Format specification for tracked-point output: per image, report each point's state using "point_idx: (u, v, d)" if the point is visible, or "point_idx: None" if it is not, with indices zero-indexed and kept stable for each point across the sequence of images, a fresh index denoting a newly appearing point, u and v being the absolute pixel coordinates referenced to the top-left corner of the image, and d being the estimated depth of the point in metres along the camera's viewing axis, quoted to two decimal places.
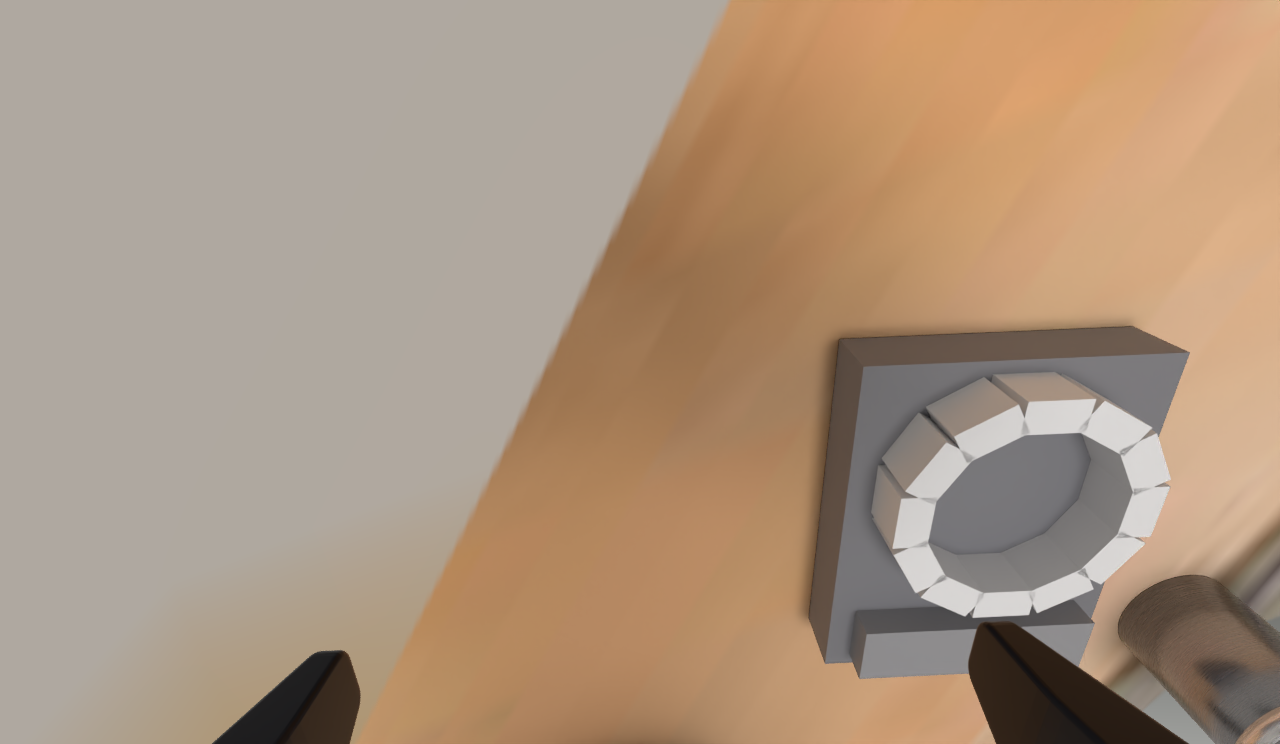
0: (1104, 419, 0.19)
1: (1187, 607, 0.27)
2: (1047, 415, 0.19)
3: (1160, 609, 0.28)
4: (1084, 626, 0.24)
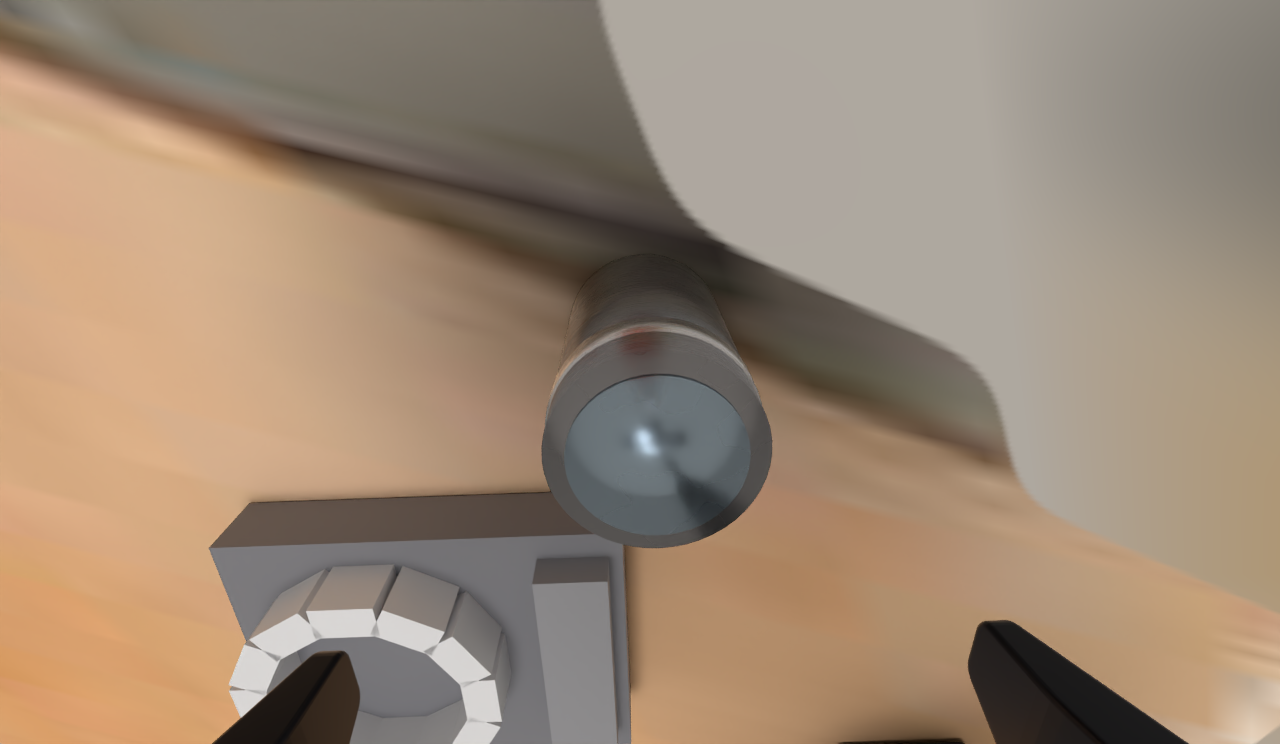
0: (247, 680, 0.21)
1: None
2: None
3: None
4: (538, 590, 0.20)
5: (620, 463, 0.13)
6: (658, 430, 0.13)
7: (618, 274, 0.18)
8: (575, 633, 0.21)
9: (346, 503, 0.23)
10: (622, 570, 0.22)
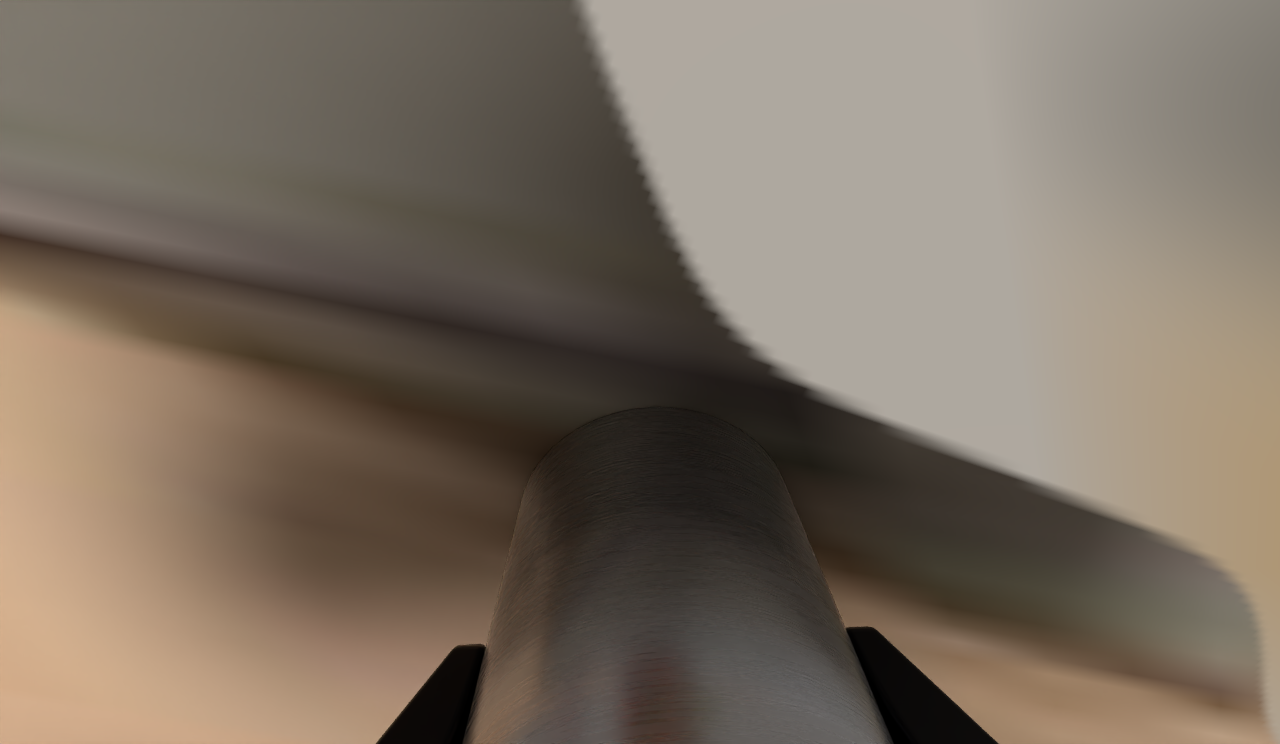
0: None
1: None
2: None
3: None
4: None
5: None
6: None
7: (603, 477, 0.09)
8: None
9: None
10: None
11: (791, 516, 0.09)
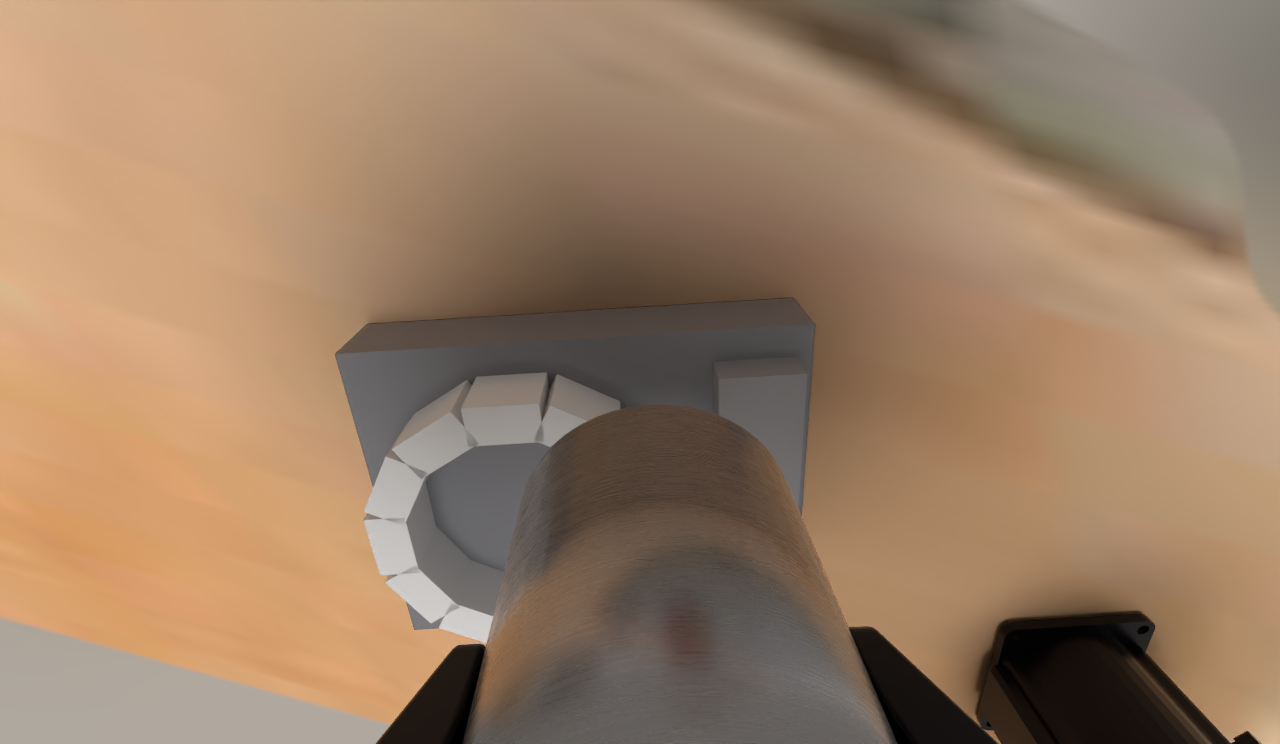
0: (385, 505, 0.18)
1: None
2: (391, 556, 0.18)
3: None
4: (725, 388, 0.17)
5: None
6: None
7: (604, 474, 0.09)
8: None
9: (479, 319, 0.20)
10: (810, 375, 0.19)
11: (792, 513, 0.09)
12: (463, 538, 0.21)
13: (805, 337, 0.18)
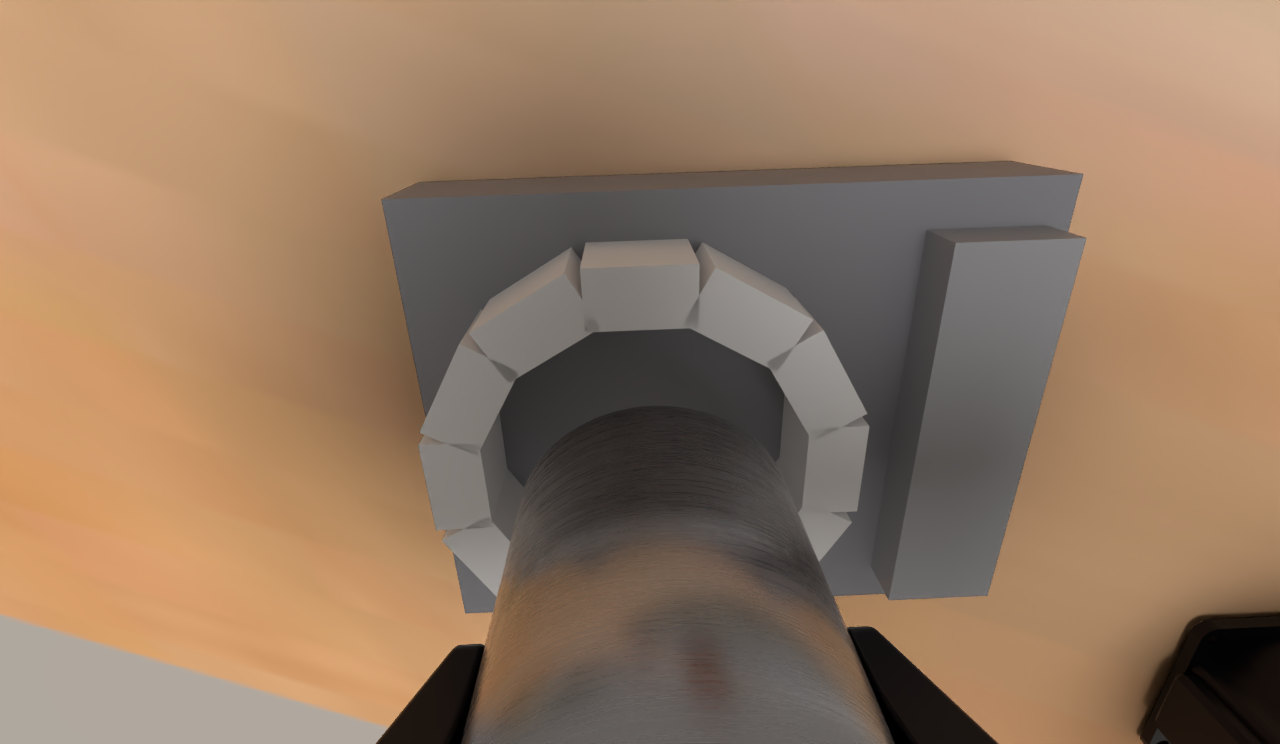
0: (452, 423, 0.12)
1: None
2: (455, 502, 0.13)
3: None
4: (961, 259, 0.12)
5: None
6: None
7: (603, 475, 0.09)
8: (996, 352, 0.13)
9: (577, 177, 0.14)
10: None
11: (791, 514, 0.09)
12: None
13: (1064, 195, 0.12)
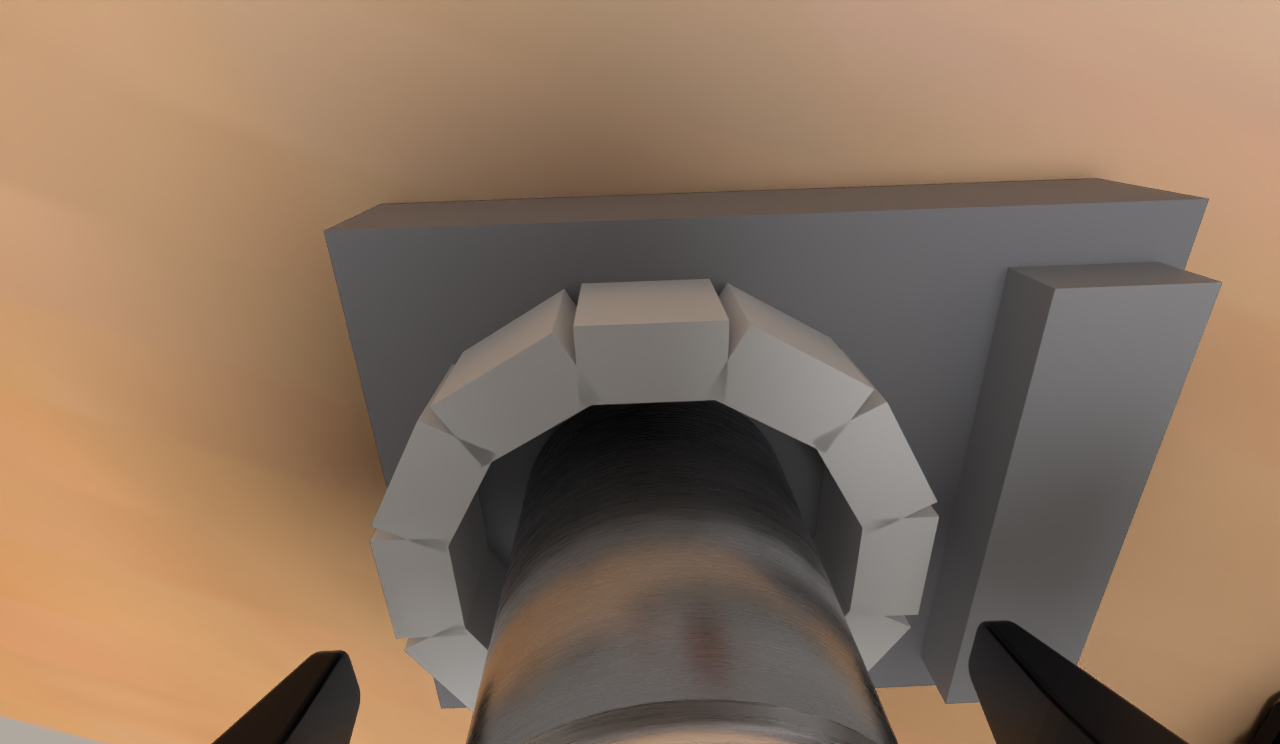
0: (412, 515, 0.09)
1: None
2: (418, 606, 0.10)
3: None
4: (1060, 308, 0.09)
5: None
6: None
7: (607, 452, 0.09)
8: (1097, 422, 0.10)
9: (572, 199, 0.12)
10: None
11: (784, 490, 0.10)
12: None
13: (1183, 225, 0.10)
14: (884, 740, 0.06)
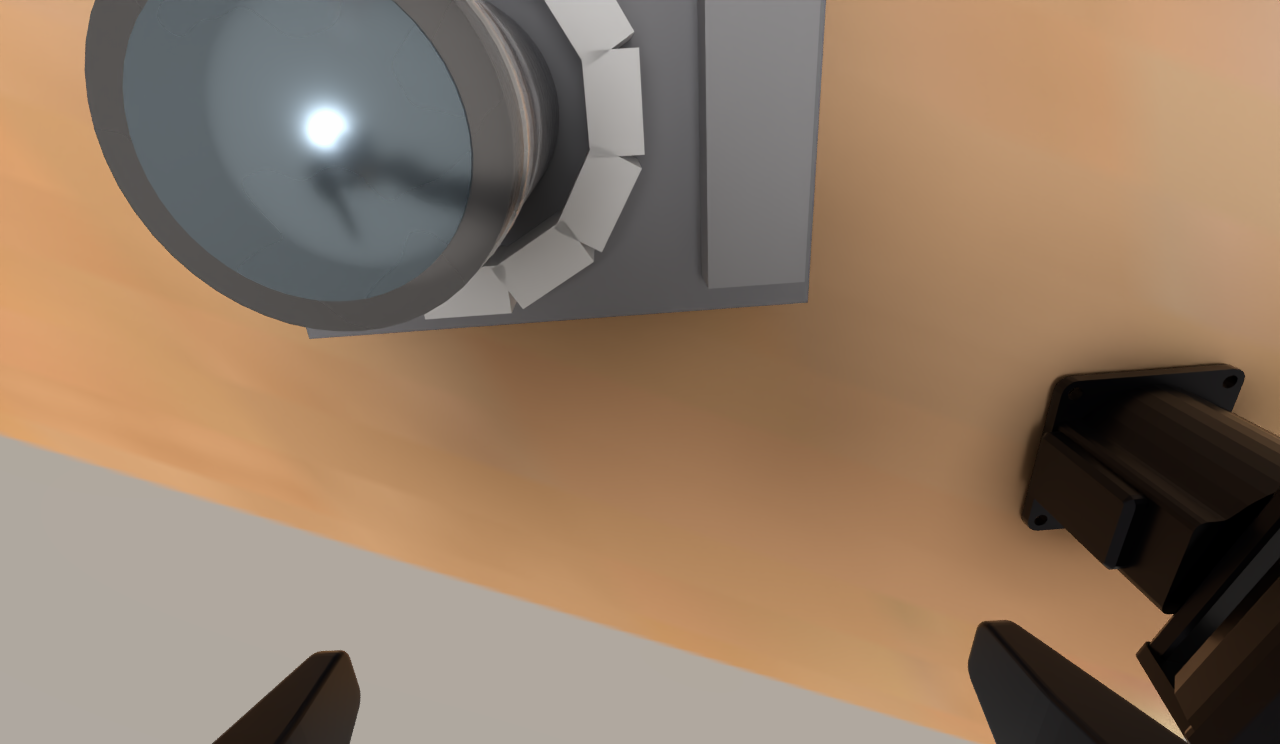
0: None
1: None
2: None
3: None
4: None
5: (238, 152, 0.07)
6: (285, 75, 0.07)
7: None
8: None
9: None
10: None
11: (515, 26, 0.12)
12: None
13: None
14: None
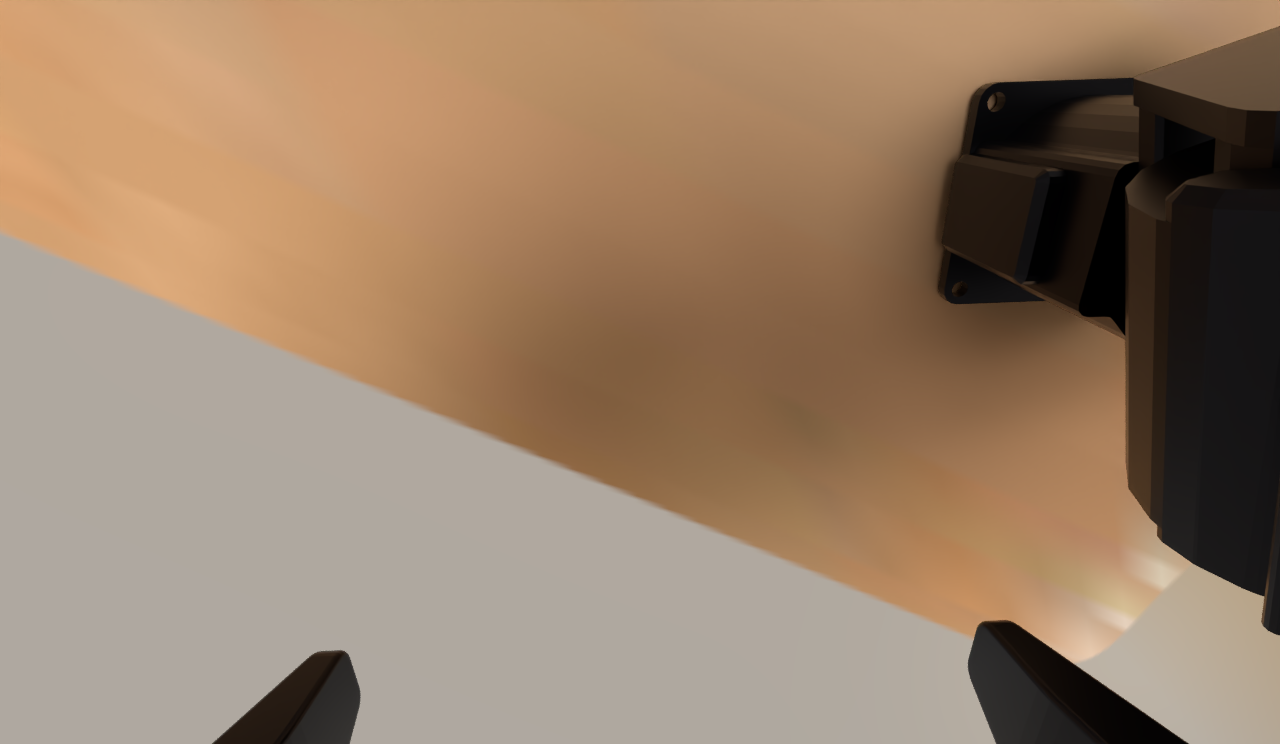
0: None
1: None
2: None
3: None
4: None
5: None
6: None
7: None
8: None
9: None
10: None
11: None
12: None
13: None
14: None
